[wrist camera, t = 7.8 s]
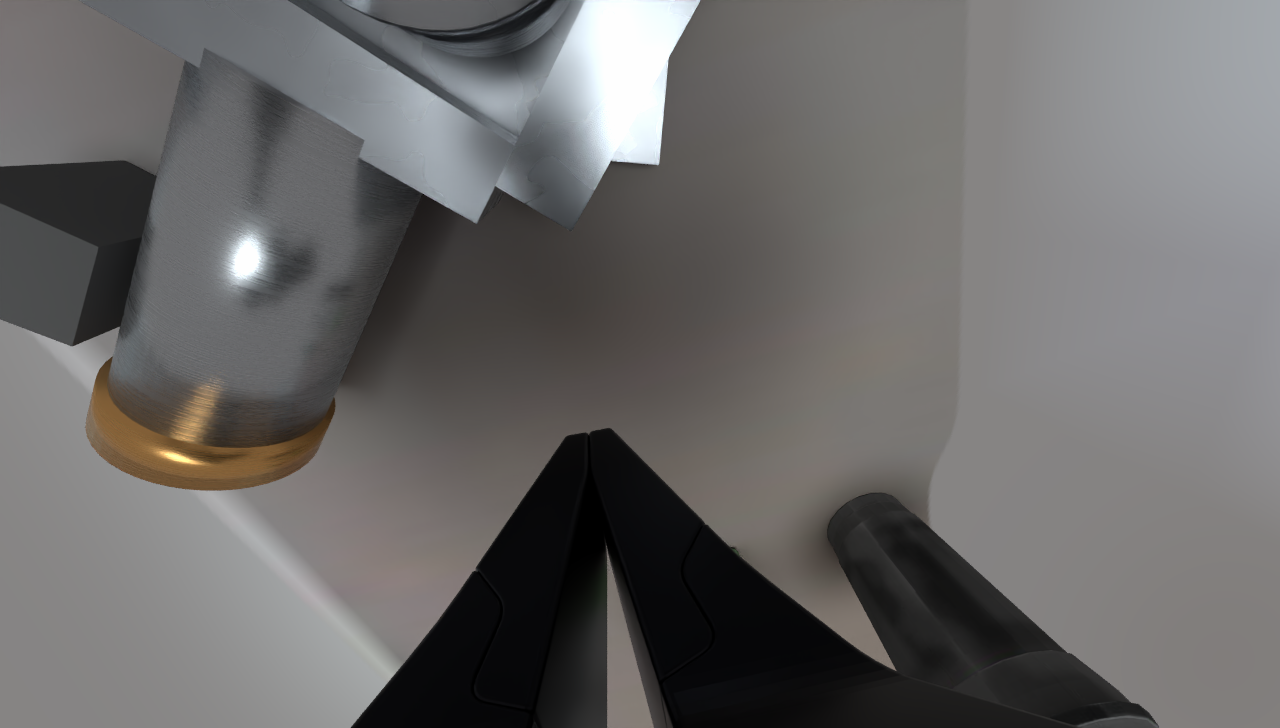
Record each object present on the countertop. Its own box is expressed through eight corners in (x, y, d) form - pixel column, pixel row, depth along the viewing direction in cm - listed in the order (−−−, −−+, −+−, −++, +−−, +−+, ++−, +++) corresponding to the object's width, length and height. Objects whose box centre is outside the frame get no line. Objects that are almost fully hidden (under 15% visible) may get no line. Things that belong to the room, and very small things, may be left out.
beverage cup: (798, 577, 28) (1211, 1357, 10) (810, 483, 25) (1452, 1386, 7) (911, 558, 29) (1481, 1251, 11) (937, 464, 25) (1816, 1234, 8)
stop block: (124, 160, 14) (-74, 170, 10) (232, 215, 15) (98, 247, 11) (102, 242, 15) (-89, 285, 11) (206, 289, 16) (71, 346, 12)
